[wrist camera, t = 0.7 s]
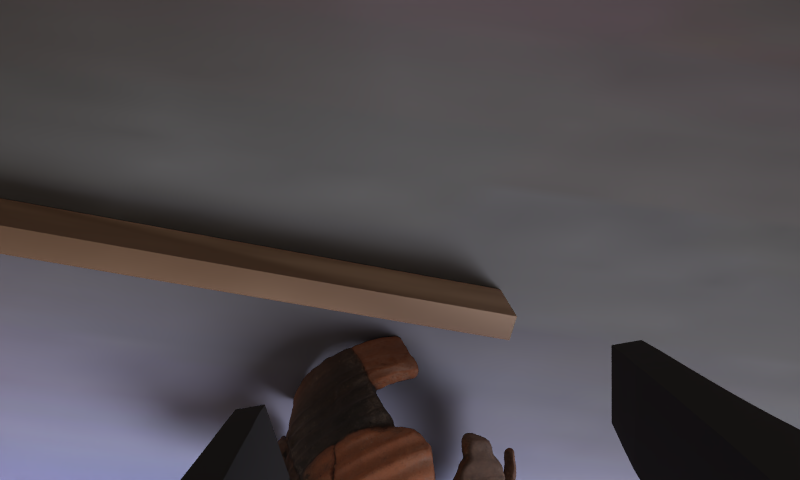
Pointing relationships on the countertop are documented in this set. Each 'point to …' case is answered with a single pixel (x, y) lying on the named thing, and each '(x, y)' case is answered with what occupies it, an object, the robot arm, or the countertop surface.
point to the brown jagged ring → (369, 424)
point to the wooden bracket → (250, 270)
